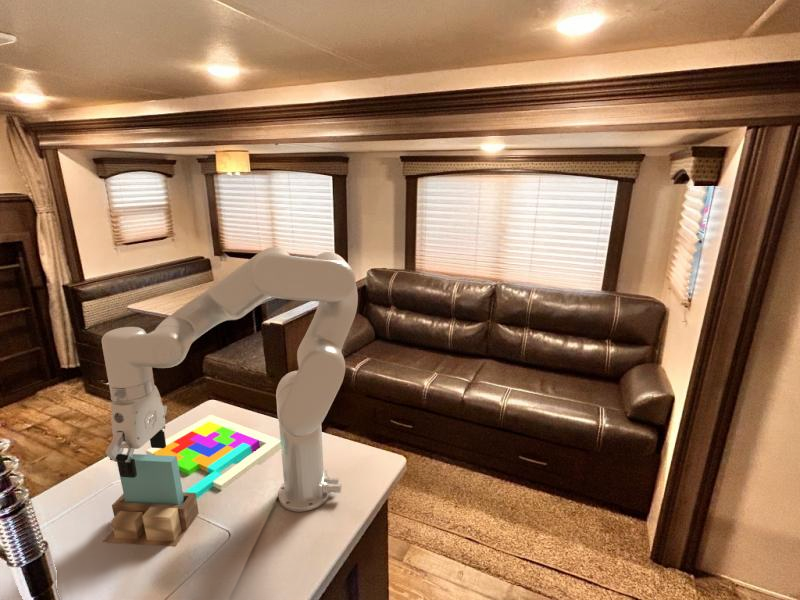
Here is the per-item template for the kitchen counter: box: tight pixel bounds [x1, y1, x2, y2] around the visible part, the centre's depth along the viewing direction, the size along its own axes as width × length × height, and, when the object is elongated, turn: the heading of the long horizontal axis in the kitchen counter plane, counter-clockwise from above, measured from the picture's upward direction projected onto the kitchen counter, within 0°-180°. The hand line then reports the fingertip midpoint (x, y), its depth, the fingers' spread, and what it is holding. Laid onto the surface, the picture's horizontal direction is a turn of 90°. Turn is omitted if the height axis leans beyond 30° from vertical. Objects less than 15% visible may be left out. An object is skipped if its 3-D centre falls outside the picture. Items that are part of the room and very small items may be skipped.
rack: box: [101, 491, 199, 547], centre depth 90 cm, size 16×9×6 cm, turn 86°
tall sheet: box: [116, 453, 184, 505], centre depth 91 cm, size 12×2×16 cm, turn 86°
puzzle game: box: [145, 414, 281, 500], centre depth 114 cm, size 30×3×30 cm
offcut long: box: [142, 507, 181, 541], centre depth 88 cm, size 6×3×6 cm, turn 86°
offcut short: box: [111, 511, 145, 539], centre depth 89 cm, size 5×3×4 cm, turn 86°
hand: (144, 461), depth 89 cm, fingers open, 9 cm apart
